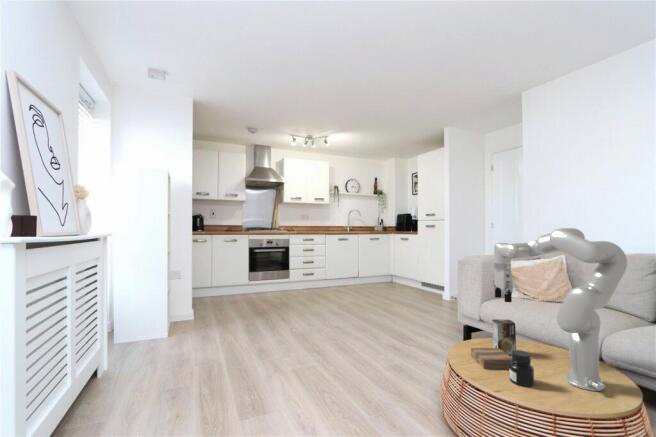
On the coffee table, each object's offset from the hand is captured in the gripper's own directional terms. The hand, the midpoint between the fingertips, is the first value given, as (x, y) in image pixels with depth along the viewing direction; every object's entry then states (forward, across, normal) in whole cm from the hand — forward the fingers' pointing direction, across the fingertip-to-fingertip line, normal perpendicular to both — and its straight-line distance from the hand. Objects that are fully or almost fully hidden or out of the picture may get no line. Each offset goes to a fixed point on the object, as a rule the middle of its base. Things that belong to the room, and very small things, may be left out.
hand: (502, 299), depth 164 cm
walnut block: (+27, -12, +12) cm, 32 cm away
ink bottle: (+27, -31, +9) cm, 42 cm away
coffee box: (+27, 0, 0) cm, 27 cm away
